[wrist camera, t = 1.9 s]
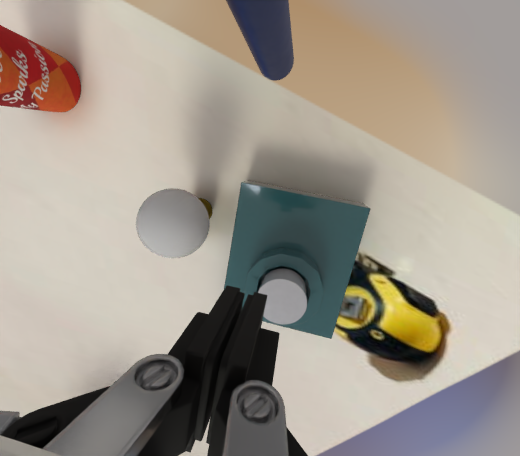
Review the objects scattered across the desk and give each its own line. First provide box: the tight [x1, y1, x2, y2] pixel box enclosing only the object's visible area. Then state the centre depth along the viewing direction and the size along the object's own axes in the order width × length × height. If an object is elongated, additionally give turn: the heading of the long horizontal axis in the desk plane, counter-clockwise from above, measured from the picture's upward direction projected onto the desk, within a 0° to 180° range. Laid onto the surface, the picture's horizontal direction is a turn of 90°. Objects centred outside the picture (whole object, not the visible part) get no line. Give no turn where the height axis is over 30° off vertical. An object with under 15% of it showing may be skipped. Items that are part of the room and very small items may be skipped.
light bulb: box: [136, 189, 212, 258], centre depth 25 cm, size 6×6×10 cm
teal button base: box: [224, 180, 370, 339], centre depth 27 cm, size 14×12×5 cm
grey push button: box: [258, 268, 307, 325], centre depth 24 cm, size 4×4×2 cm
